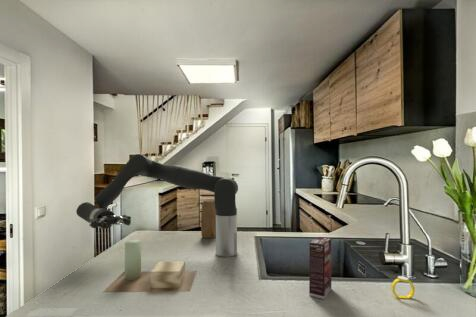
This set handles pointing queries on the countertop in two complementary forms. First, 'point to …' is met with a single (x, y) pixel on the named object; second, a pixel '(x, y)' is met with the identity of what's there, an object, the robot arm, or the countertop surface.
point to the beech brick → (168, 274)
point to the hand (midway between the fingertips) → (117, 224)
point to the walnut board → (148, 283)
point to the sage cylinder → (132, 259)
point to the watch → (403, 279)
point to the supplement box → (320, 267)
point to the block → (208, 219)
